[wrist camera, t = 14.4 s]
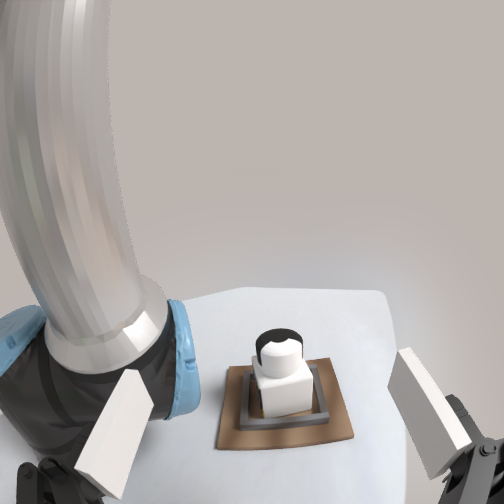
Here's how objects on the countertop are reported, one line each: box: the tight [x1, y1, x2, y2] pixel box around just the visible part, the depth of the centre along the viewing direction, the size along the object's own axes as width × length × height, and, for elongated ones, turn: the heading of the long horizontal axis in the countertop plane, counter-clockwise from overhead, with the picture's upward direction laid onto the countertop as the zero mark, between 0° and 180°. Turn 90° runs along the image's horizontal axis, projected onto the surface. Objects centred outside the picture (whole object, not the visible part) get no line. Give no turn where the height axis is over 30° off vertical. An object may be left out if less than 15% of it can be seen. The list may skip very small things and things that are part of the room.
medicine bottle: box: [252, 328, 313, 419], centre depth 35 cm, size 7×7×12 cm
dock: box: [217, 358, 354, 450], centre depth 36 cm, size 18×18×2 cm
